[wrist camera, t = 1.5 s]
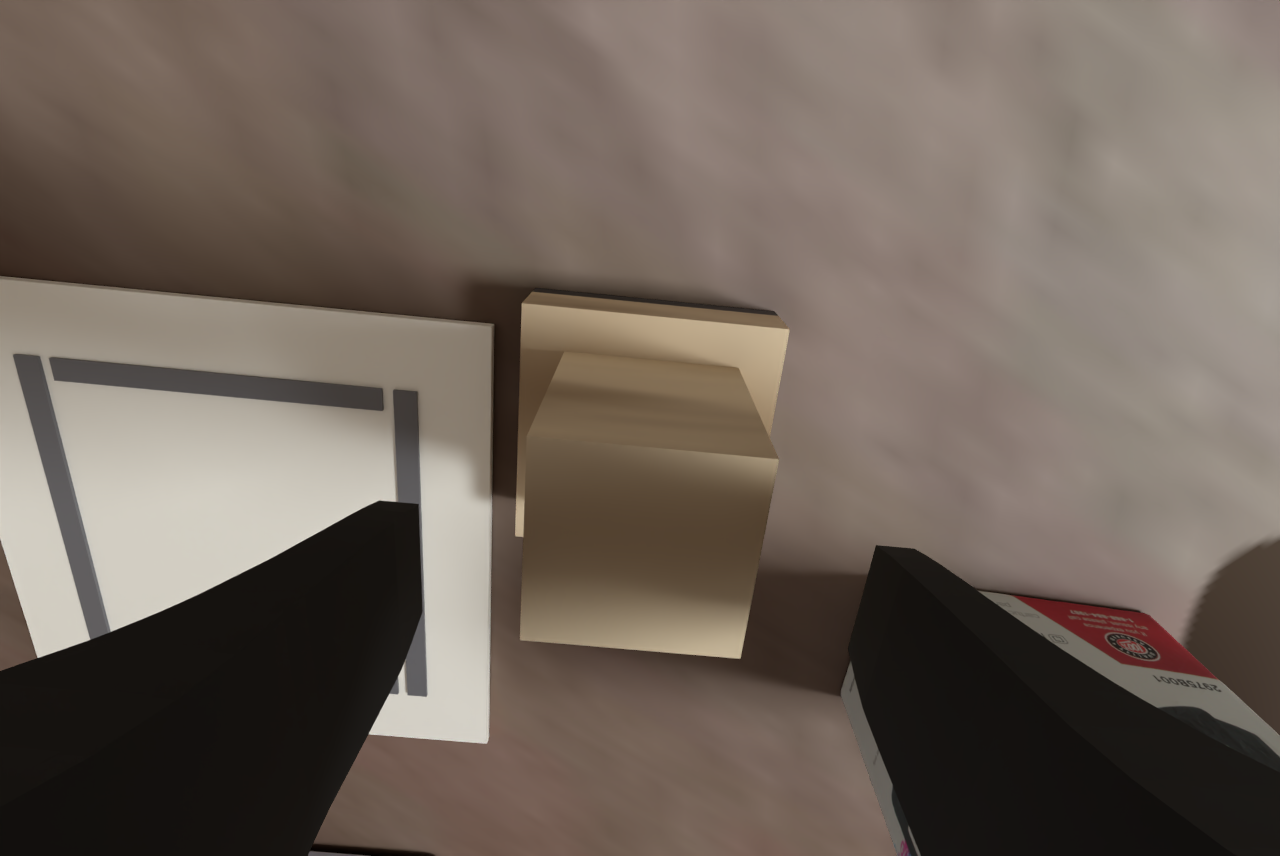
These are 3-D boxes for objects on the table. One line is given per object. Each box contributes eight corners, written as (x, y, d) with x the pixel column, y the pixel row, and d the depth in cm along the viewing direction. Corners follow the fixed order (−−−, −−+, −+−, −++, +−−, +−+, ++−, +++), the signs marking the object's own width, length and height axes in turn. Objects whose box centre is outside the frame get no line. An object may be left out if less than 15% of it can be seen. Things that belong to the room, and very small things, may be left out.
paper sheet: (489, 736, 22) (486, 746, 21) (61, 701, 21) (51, 711, 21) (494, 323, 17) (490, 327, 16) (-72, 268, 16) (-89, 271, 16)
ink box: (1155, 610, 20) (1786, 1167, 9) (1089, 730, 22) (1543, 1316, 11) (877, 571, 19) (1178, 1105, 8) (834, 698, 21) (1034, 1271, 10)
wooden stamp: (737, 518, 19) (785, 705, 12) (528, 498, 19) (464, 678, 12) (773, 310, 17) (854, 405, 10) (536, 287, 16) (462, 369, 10)
